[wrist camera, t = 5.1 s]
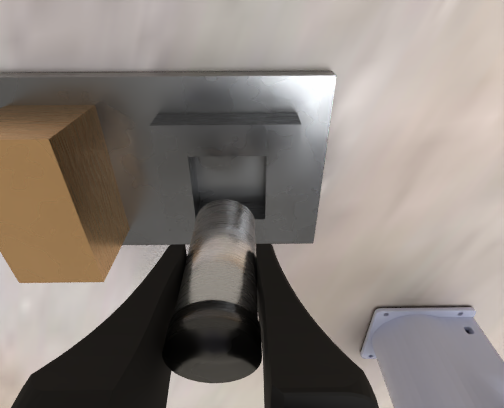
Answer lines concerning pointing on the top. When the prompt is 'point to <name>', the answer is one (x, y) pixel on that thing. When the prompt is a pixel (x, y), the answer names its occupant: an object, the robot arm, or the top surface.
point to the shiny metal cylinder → (217, 299)
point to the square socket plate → (153, 161)
